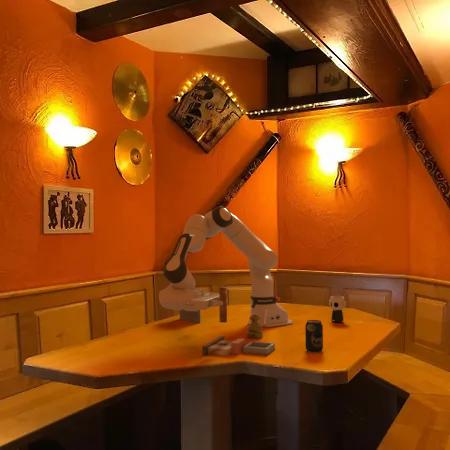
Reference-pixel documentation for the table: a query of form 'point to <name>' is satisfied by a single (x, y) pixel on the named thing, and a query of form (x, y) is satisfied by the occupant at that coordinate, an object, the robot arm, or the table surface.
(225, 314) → the dowel
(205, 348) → the clamp bar
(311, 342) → the soda can
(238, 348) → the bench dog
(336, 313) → the bear figurine
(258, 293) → the robot arm
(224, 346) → the bench plate
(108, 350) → the table surface
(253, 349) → the tray
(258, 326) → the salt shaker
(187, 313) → the hip flask
